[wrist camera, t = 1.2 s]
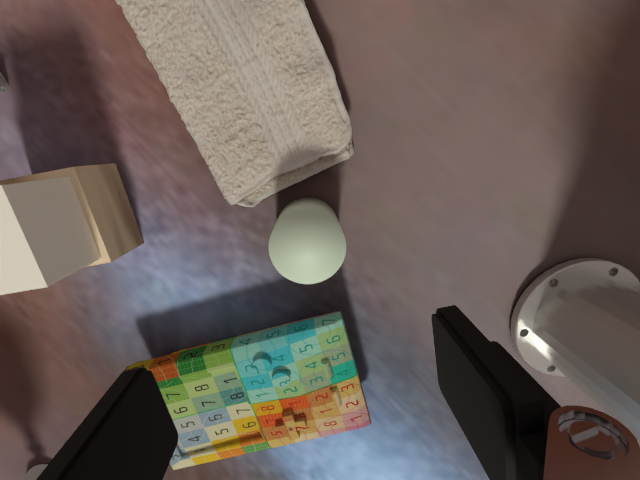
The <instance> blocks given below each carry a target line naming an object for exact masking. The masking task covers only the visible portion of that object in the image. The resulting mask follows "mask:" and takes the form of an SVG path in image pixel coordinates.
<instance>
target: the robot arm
mask: <svg viewBox="0 0 640 480" xmlns="http://www.w3.org/2000/svg"><path fill="white" fill-rule="evenodd" d="M432 326H433V335H434V345H435V354H436V364H437V373H438V382H439V386H440V389H441V392H442V394H443V396H444V397H445V399H446V401H447V403H448V405H449V407H450V408H451V410H452V412H453V414H454V416H455V417H456V419H457V421H458V423H459V425H460V426H461V428H462V430H463V432H464V434H465V436H466V437H467V439H468V441H469V443H470V445H471V446H472V448H473V450H474V452H475V454H476V455H477V457H478V459H479V461H480V463H481V465H482V466H483V468H484V470H485V472H486V474H487V475H488V477H489V479H490V480H640V446H639V444H638V441H639V442H640V281H639V280H638V278H637V277H636V276H635V275H634V274H633V273H632V272H631V271H630V270H628V269H626V268H625V267H623V266H621V265H619V264H616V263H614V262H611V261H608V260H604V259H599V258H579V259H574V260H569V261H567V262H564V263H561V264H558V265H556V266H554V267H553V268H551V269H549V270H547V271H545V272H544V273H543V274H541V275H540V276H539V277H537V278H536V279H535V280H534V281H533V282H532V283H531V284H530V285H529V286H528V287H527V288H526V289H525V291H524V292H523V294H522V295H521V297H520V298H519V299H518V302H517V304H516V306H515V308H514V310H513V314H512V318H511V329H510V332H511V337H512V342H513V344H514V346H515V349H516V351H517V352H518V353H519V354H520V356H521V357H522V358H523V359H524V360H525V361H526V362H527V363H528V364H529V365H530V366H532V367H533V368H535V369H536V370H538V371H540V372H542V373H545V374H548V375H554V376H566V377H567V378H568V379H569V380H571V381H572V382H573V383H574V384H575V385H576V386H577V387H578V388H579V389H581V390H582V391H583V392H584V393H585V394H586V395H587V396H588V397H590V398H591V399H592V400H593V401H594V402H595V403H596V404H597V405H598V406H600V407H601V408H602V409H603V410H604V411H605V412H606V413H607V414H609V415H610V416H609V415H607V414H606V413H604V412H601V411H598V410H595V409H593V408H589V407H583V406H564V407H561V406H560V405H559V404H558V403H557V402H556V401H555V400H554V399H553V398H552V397H551V396H550V395H549V394H548V393H547V392H546V391H545V390H544V389H543V388H542V387H541V386H540V385H539V384H538V383H537V382H536V381H535V380H534V379H533V378H532V377H531V376H530V374H529V373H528V372H527V371H526V370H525V369H524V368H523V367H522V366H521V365H520V364H519V363H518V362H517V361H516V360H515V359H514V358H513V357H512V356H511V355H510V354H509V353H508V352H507V351H506V350H505V349H504V348H503V347H502V346H501V345H500V344H499V343H498V342H495V341H492V342H490V341H489V340H488V339H487V338H486V337H485V336H484V335H483V334H482V333H481V332H480V331H479V330H478V329H477V328H476V326H475V325H474V324H473V323H472V322H471V321H470V320H469V319H468V318H467V317H466V316H465V315H464V314H463V313H462V312H461V311H460V309H459V308H458V307H457V306H455V305H453V306H448V307H443V308H438V309H437V311H436V314H432ZM637 440H638V441H637ZM177 443H178V432H177V429H176V427H175V425H174V422H173V420H172V418H171V415H170V413H169V410H168V408H167V406H166V403H165V401H164V399H163V396H162V394H161V392H160V389H159V387H158V384H157V382H156V380H155V377H154V375H153V373H152V372H151V371H149V370H147V369H146V368H145V367H140V368H135V369H130V370H125V371H123V372H122V373H121V375H120V376H119V377H118V378H117V380H116V381H115V382H114V383H113V385H112V386H111V387H110V388H109V389H108V391H107V392H106V393H105V394H104V396H103V397H102V398H101V399H100V401H99V402H98V403H97V404H96V406H95V407H94V408H93V409H92V411H91V412H90V413H89V414H88V416H87V417H86V418H85V419H84V421H83V422H82V423H81V424H80V426H79V427H78V428H77V429H76V431H75V432H74V433H73V434H72V436H71V437H70V438H69V439H68V440H67V442H66V443H65V444H64V445H63V447H62V448H61V449H60V450H59V452H58V453H57V454H56V455H55V457H54V458H53V459H52V460H51V462H50V463H49V464H48V465H47V467H46V468H45V469H44V470H43V472H42V473H41V474H40V475H39V477H38V478H37V479H36V480H162V479H163V477H164V474H165V472H166V470H167V467H168V465H169V463H170V460H171V458H172V456H173V453H174V451H175V449H176V446H177Z"/></svg>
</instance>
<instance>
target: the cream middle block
mask: <svg viewBox="0 0 640 480" xmlns="http://www.w3.org/2000/svg"><path fill="white" fill-rule="evenodd" d="M100 258H101V256H100V254H99V251H98V249H97V246H96V243H95V241H94V238H93V236H92V233H91V231H90V228H89V225H88V223H87V220H86V218H85V215H84V213H83V210H82V207H81V205H80V202H79V200H78V197H77V195H76V192H75V189H74V187H73V184H72V182H71V179H70V177H61V178H54V179H46V180H38V181H30V182H22V183H14V184H7V185H0V295H3V294H9V293H15V292H21V291H27V290H33V289H39V288H45V287H49V286H50V285H52V284H54V283H56V282H58V281H60V280H62V279H63V278H65V277H67V276H69V275H71V274H73V273H74V272H76V271H78V270H80V269H82V268H84V267H86V266H87V265H89V264H91V263H93V262H95V261H97V260H99V259H100Z"/></svg>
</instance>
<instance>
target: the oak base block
mask: <svg viewBox="0 0 640 480" xmlns="http://www.w3.org/2000/svg"><path fill="white" fill-rule="evenodd" d="M61 177H70V179H71V182H72V184H73V187H74V189H75V192H76V195H77V197H78V200H79V202H80V205H81V207H82V210H83V213H84V215H85V218H86V220H87V223H88V225H89V228H90V231H91V233H92V236H93V238H94V241H95V243H96V246H97V249H98V251H99V254H100V256H101V258H100V259H99V260H97V261H95V262H93V263H91V264H89V265H87V266H92V265H98V264H103V263H109V262H112V261H114V260H116V259H117V258H119V257H121V256H122V255H124V254H126V253H127V252H129V251H131V250H133V249H134V248H136V247H138V246H139V245H141V244H143V243H144V241H143V239H142V236H141V233H140V230H139V228H138V225H137V222H136V219H135V216H134V214H133V211H132V208H131V205H130V202H129V200H128V197H127V194H126V191H125V189H124V186H123V183H122V180H121V177H120V175H119V172H118V169H117V166H116V163H110V164H99V165H87V166H76V167H69V168H64V169H59V170H54V171H48V172H43V173H38V174H33V175H28V176H22V177H17V178H12V179H7V180H2V181H0V185H7V184H14V183H22V182H30V181H38V180H46V179H54V178H61ZM87 266H86V267H87Z"/></svg>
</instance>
